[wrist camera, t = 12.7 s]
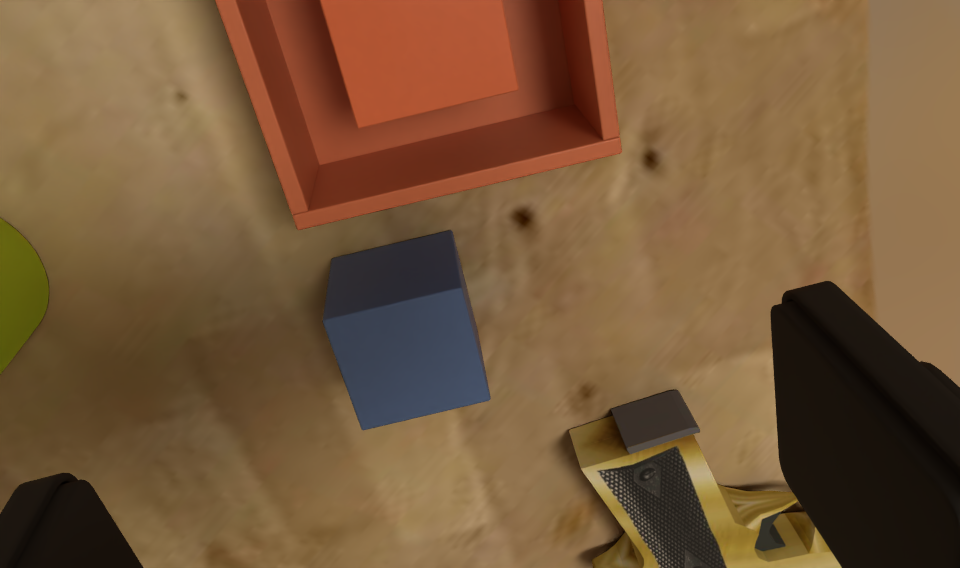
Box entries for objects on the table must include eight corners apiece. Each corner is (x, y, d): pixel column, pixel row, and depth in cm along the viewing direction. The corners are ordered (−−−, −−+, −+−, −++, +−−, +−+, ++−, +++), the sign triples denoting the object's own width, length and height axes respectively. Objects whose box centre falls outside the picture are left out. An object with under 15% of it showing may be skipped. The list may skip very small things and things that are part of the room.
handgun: (578, 449, 30) (603, 653, 35) (1065, 358, 30) (1013, 575, 36) (565, 409, 32) (591, 608, 38) (1020, 325, 32) (977, 534, 38)
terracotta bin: (204, -138, 22) (163, -141, 18) (538, -220, 22) (572, -240, 18) (311, 177, 26) (297, 231, 22) (587, 110, 26) (622, 153, 22)
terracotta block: (319, -61, 22) (305, -47, 19) (468, -97, 22) (485, -90, 19) (362, 88, 25) (357, 129, 21) (499, 55, 25) (519, 91, 21)
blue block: (330, 257, 28) (321, 320, 24) (451, 229, 28) (462, 287, 24) (365, 358, 30) (361, 431, 26) (478, 331, 30) (491, 401, 26)
